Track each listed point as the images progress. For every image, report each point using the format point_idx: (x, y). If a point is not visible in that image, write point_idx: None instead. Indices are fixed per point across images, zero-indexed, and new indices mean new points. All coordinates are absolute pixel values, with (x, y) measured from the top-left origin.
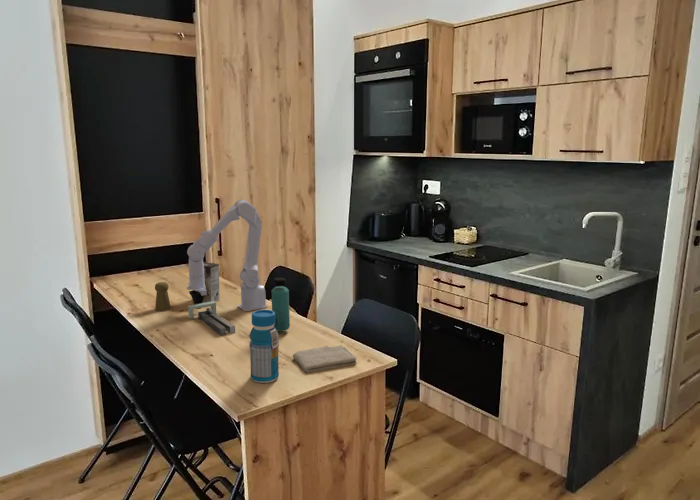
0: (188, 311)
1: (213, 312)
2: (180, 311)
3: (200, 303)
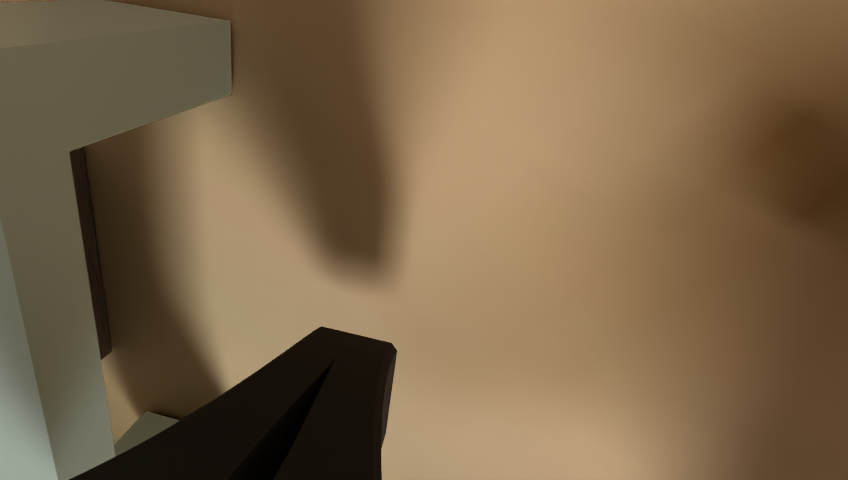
0: (102, 28)
1: (121, 438)
2: (802, 108)
3: (50, 457)
